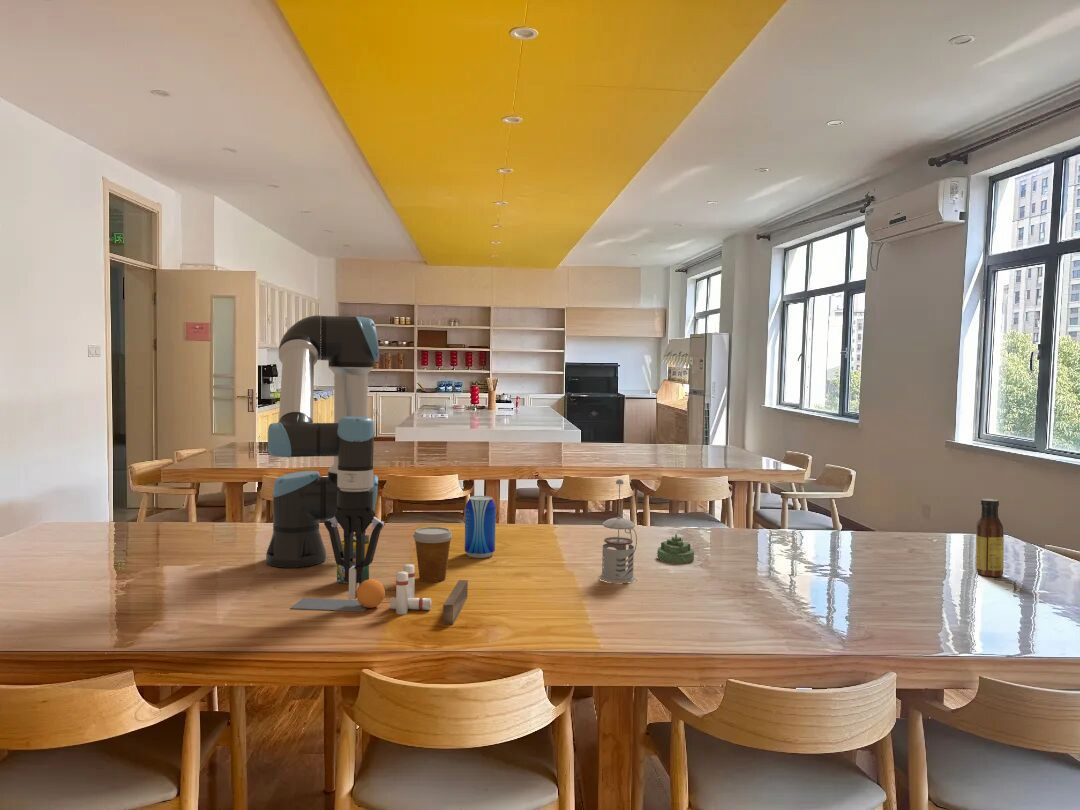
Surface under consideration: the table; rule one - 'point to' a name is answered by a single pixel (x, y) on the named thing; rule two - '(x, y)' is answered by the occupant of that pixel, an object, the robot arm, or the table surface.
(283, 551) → the robot arm
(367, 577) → the crayon box
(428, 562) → the disposable coffee cup
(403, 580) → the pin
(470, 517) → the beer can
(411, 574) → the pin
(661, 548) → the decorative artifact
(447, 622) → the back wall
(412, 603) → the front pin
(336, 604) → the plate
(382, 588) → the ball
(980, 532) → the sauce bottle
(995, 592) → the table surface
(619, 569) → the french press
